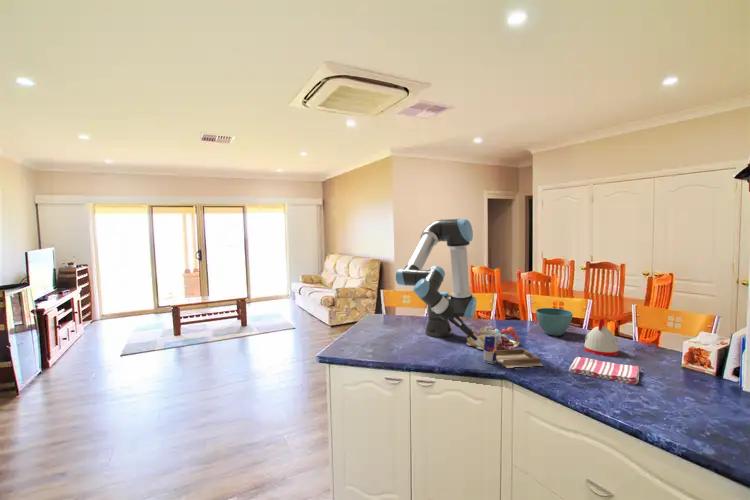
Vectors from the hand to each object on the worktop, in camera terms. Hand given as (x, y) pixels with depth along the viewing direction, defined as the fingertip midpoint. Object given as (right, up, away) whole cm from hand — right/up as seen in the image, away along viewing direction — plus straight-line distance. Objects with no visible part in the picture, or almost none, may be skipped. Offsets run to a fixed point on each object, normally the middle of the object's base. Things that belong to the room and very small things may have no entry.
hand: (480, 343), depth 162 cm
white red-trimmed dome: (+61, -7, +12) cm, 62 cm away
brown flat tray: (+16, -8, +2) cm, 18 cm away
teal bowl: (+53, -5, +42) cm, 67 cm away
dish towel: (+47, -9, -12) cm, 49 cm away
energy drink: (+5, -8, +1) cm, 10 cm away
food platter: (+13, -7, +26) cm, 30 cm away
